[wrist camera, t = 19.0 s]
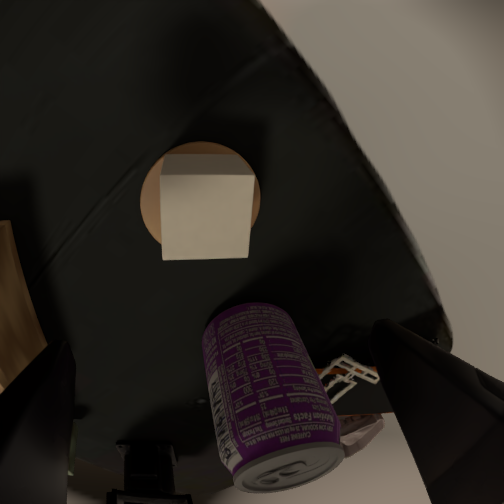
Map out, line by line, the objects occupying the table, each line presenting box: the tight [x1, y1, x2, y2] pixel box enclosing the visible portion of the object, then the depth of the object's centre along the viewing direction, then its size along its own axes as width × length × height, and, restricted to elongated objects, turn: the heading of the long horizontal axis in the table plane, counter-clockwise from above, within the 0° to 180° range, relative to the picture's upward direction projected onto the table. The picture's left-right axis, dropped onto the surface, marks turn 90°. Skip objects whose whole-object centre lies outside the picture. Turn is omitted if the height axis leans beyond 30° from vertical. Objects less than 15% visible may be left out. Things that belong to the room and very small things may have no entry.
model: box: [318, 354, 380, 404], centre depth 27 cm, size 11×12×1 cm
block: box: [160, 154, 255, 260], centre depth 16 cm, size 4×4×4 cm
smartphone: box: [315, 367, 394, 416], centre depth 27 cm, size 8×17×1 cm, turn 97°
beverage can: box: [202, 302, 345, 493], centre depth 19 cm, size 7×7×12 cm
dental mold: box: [337, 414, 385, 458], centre depth 31 cm, size 8×7×5 cm
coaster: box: [140, 141, 260, 244], centre depth 19 cm, size 7×7×1 cm
